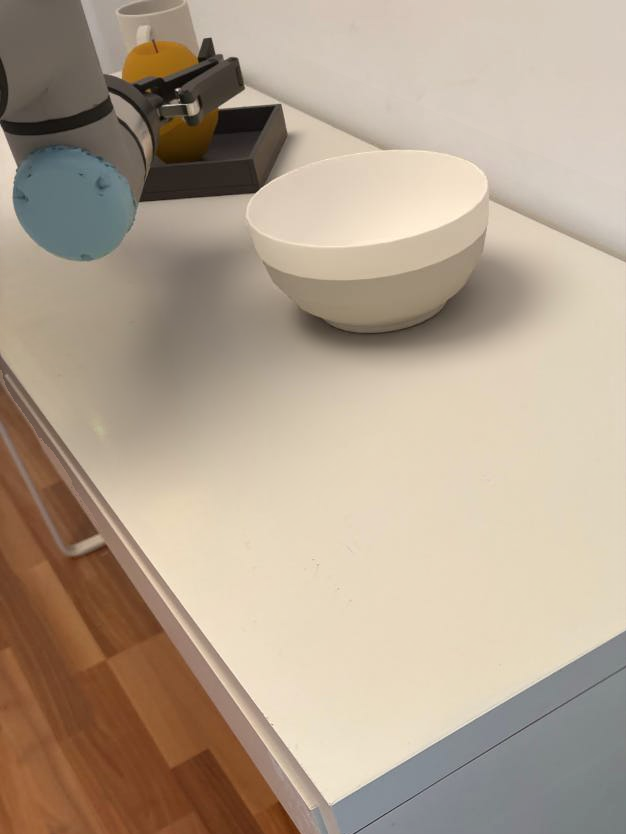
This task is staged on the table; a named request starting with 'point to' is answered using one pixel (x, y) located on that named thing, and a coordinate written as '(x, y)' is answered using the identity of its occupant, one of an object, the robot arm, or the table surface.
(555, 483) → the table surface
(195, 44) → the mug
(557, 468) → the table surface
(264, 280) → the table surface
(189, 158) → the apple
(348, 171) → the bowl
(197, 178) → the tray
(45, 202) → the robot arm
